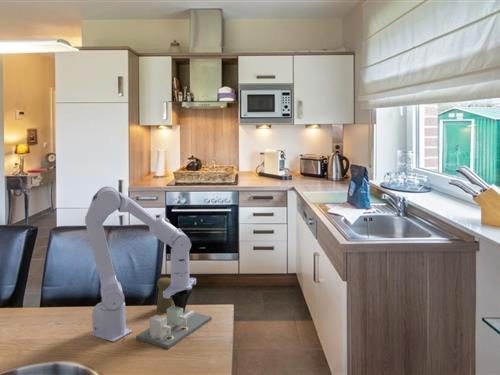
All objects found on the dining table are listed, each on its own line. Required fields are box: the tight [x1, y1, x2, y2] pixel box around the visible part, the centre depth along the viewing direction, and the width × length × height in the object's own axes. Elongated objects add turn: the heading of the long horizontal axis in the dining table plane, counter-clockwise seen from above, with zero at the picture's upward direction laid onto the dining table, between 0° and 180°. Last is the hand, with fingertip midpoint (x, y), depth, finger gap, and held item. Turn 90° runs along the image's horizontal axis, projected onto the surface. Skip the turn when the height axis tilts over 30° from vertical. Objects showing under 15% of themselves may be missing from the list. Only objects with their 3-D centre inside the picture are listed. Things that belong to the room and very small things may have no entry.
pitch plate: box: [135, 309, 212, 350], centre depth 140 cm, size 12×22×6 cm, turn 152°
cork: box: [156, 277, 175, 314], centre depth 154 cm, size 6×6×11 cm
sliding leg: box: [166, 305, 187, 327], centre depth 140 cm, size 6×3×5 cm, turn 62°
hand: (180, 312), depth 143 cm, fingers closed
